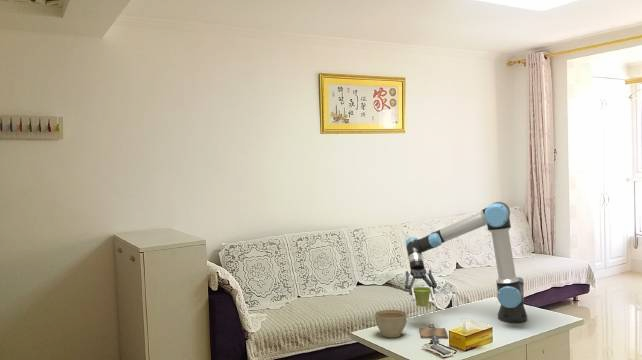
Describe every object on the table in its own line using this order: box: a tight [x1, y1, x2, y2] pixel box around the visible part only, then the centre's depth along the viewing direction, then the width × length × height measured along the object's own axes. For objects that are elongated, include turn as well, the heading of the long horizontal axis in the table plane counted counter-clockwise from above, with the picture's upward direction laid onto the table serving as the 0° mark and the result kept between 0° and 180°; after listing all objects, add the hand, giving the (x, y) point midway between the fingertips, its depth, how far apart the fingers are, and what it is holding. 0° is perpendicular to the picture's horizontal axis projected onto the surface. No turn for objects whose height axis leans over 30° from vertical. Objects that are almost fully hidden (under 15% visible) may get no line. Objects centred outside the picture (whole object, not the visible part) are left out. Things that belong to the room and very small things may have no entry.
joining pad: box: [418, 327, 449, 340], centre depth 270 cm, size 13×13×1 cm
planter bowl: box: [374, 309, 408, 338], centre depth 271 cm, size 16×16×11 cm
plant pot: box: [412, 286, 431, 308], centre depth 282 cm, size 9×9×9 cm
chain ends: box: [428, 323, 440, 344], centre depth 269 cm, size 3×26×2 cm, turn 173°
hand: (423, 299), depth 278 cm, fingers closed on plant pot, 9 cm apart
